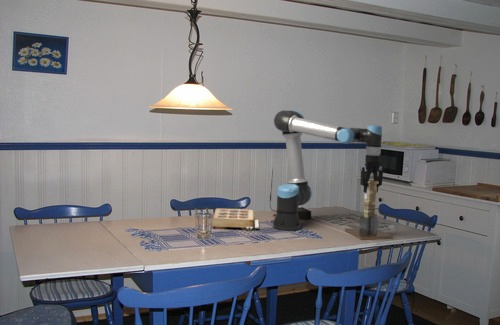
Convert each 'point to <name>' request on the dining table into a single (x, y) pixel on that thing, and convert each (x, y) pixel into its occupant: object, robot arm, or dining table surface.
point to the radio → (302, 211)
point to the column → (370, 199)
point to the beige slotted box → (234, 219)
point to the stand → (368, 229)
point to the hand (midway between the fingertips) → (370, 198)
